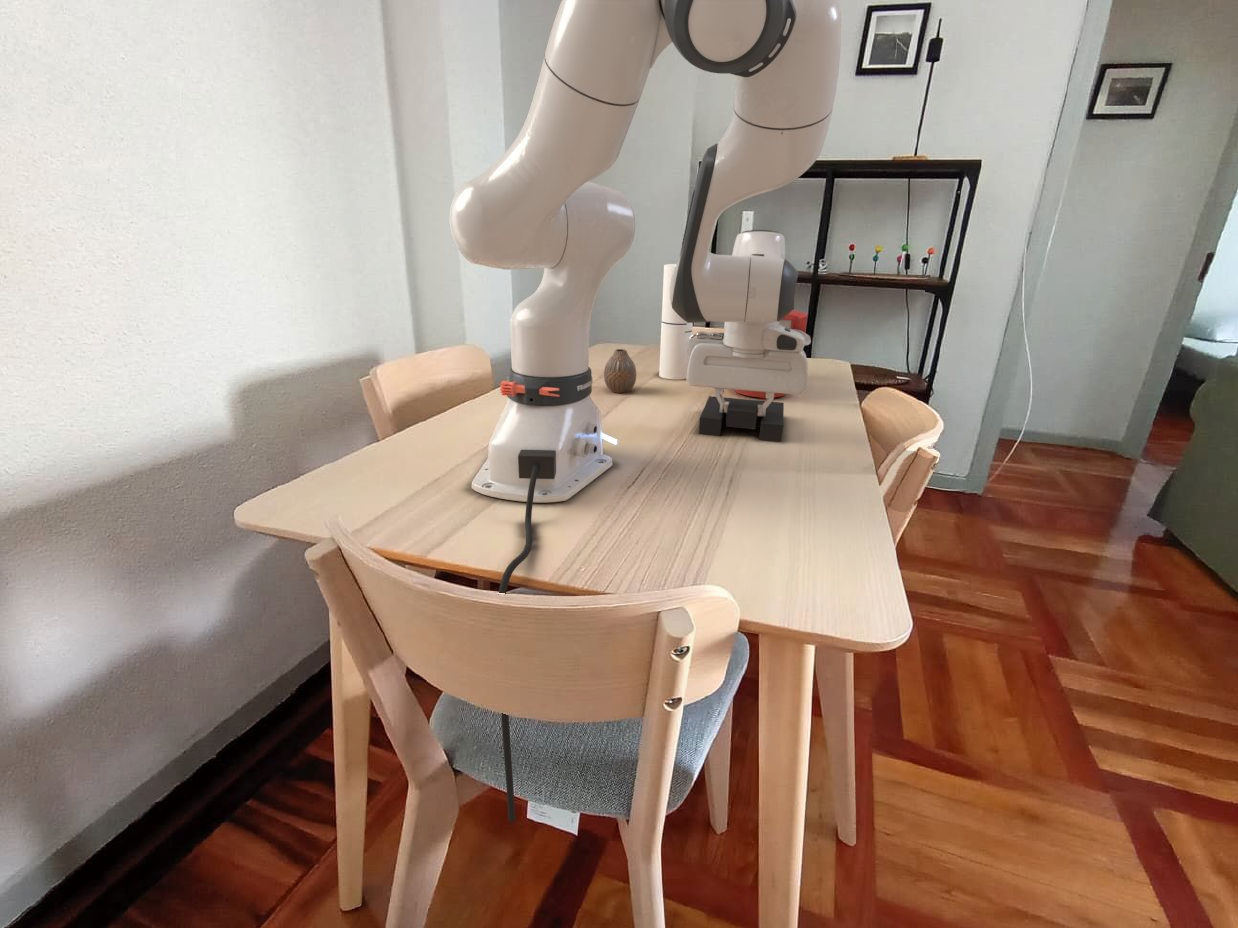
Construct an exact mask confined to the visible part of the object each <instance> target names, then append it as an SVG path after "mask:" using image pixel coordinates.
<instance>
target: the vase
mask: <svg viewBox="0 0 1238 928" xmlns="http://www.w3.org/2000/svg"><path fill="white" fill-rule="evenodd" d="M603 380H604V383H605V385H606V387H607V389H608V391H610V392H612V393H615V394H616V393H617V394H624V393H629V392H630V391H631V390H632V389H633V388H634V386H635V384H636V382H637V368H636V364H635V362H634V360H632V358H631V356H630V355H629V354H628V351H627V350H626V349H625V348H617V349H614V351H613V354H612V355H611V357H610V358H609V359H608V360H607V362H606V363H605V367H604V370H603Z"/></svg>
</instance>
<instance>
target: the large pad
mask: <svg viewBox="0 0 1238 928" xmlns="http://www.w3.org/2000/svg"><path fill="white" fill-rule="evenodd" d="M723 398H724V400H725V402H729V403H730V401H740V402H752V403H758V404H759V405H763V403H764V402H765V401H766V400H759V399H747V398H734V397H724V396H723ZM706 400H707V401H706V403H705V405H704V407H703V409H702V411H701V413H700V416H699V422H698V423H699V424H698V434H699V435H709V436H719V437H720V436H721V434H722V431H723V428H724V425H726V418H727V414H725V413H720V404H719V402H718V400H717V398H716V396H711V395H709V396H708V398H707V399H706ZM784 406H785V405H784V402H781V401H772V402H771V403H770V405H769V406H768V407H767V408H766V413H765V417H758V416H757V421H756V428H759V436H758V440H760V441H768V442H769V441H770V442H779V443H780V442H782V438H783V431H784V416H785V415H784V411H785V408H784Z"/></svg>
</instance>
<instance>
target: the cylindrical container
mask: <svg viewBox="0 0 1238 928" xmlns="http://www.w3.org/2000/svg"><path fill="white" fill-rule="evenodd" d="M676 264H677V263H667V264H663V281H662V303H661V304H662V305H661V323H660V324H661V325H660V326H661V328H660V347H659V348H660V349H659V370H658V376H659V377H660V378H663V379H666V380H676V381H677V380H686V377H687V369H688V364H689V360H690V356H689V354H688V352H687V344H688V339H689V338H690V336H692V335H693V325H694V323H687V322H686V321H685V320H683V319H682V318H681V317H680V316H679V315H678V314H677V313H676V312H675V311H674V310H673V308H672V304H671V301H670V284H671V279H672V275H673V272H674V269H675V267H676Z"/></svg>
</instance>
